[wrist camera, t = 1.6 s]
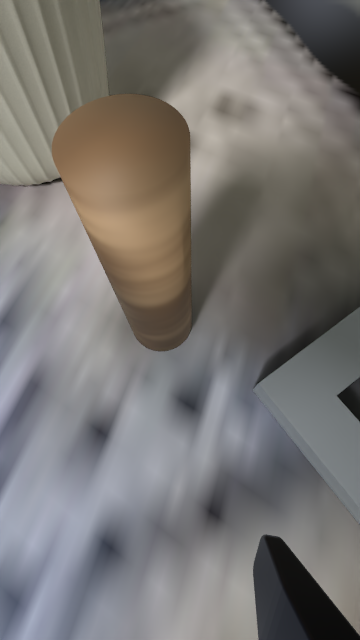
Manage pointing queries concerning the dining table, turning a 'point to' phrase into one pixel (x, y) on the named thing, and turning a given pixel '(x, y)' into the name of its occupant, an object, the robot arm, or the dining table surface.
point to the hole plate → (322, 407)
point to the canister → (45, 79)
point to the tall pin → (135, 206)
